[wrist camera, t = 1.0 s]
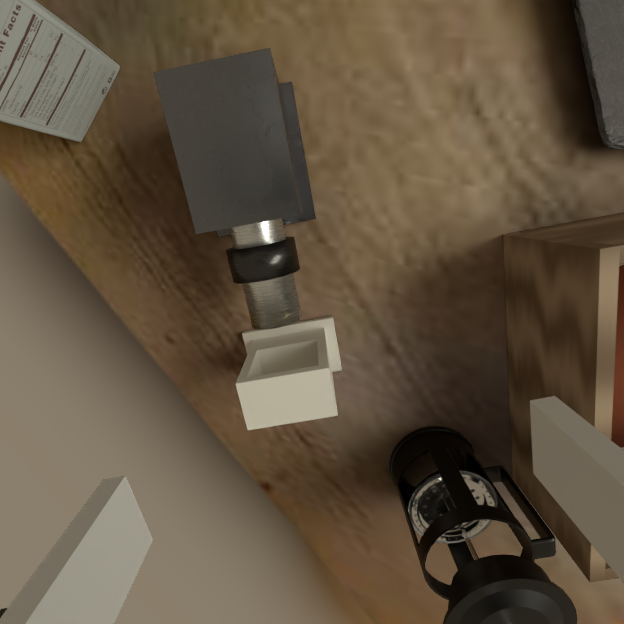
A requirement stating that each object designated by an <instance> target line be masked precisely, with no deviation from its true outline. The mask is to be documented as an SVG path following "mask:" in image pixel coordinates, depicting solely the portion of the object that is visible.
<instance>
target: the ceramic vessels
mask: <svg viewBox="0 0 624 624" xmlns="http://www.w3.org/2000/svg"><path fill="white" fill-rule="evenodd" d="M611 441H612V442H614V443H615V444H616V445H617V446H619V447H620V448H621V447H624V265H622V266H619V281H618V303H617V325H616V346H615V368H614V390H613V412H612V433H611Z"/></svg>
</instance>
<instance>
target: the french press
mask: <svg viewBox="0 0 624 624" xmlns="http://www.w3.org/2000/svg"><path fill="white" fill-rule="evenodd" d="M447 449H455V450H458V451H461V453H462V455H463V460H464V462H463V469H461V468H457V466H456V464H455V462H454V461H453V459H452V457H451V455H450V453H449V452H448V450H447ZM427 452H429V453H430V455H431V457H432V459H433V461H434V463H435V465H436V467H437V469H438V471H436V472H434V473H432V474H430V475H429V476H427V477H426V478H424V479H423V480H422V481H421V482H420V483H419V484H418V485H417V486H416V488H415V487H413V486H411V485H410V484H409V483H408V482H407V481H406V480H405V478H404V476H403V473H404V471H405V469H406V468H407V467H408V465H409V464H410V463H411V462H412V461H413V460H415V459H416V458H418V457H419V456H421V455H423V454H425V453H427ZM389 466H390V474H391V477H392V480H393V482H394V484H395V485H396V487H397V490H398V493H399V496H400V500H401V503H402V506H403V509H404V512H405V516H406V519H407V522H408V525H409V529H410V532H411V535H412V538H413V542H414V545H415V548H416V551H417V554H418V558H419V561H420V564H421V567H422V571H423V574H424V577H425V580H426V582H427V583H428V585H429V587H430V588H431V589H432V590H433V591H434V592H435V593H436V594H438V595H440V596H441V597H443V598H445V599H447V600H449V604H448V611H447V613H446V615H445V618H444V621H443V624H577V614H576V609H575V607H574V605H573V603H572V601H571V599H570V598H569V596H568V595H567V594H566V593H565V592H564V590H563V589H561V588H560V587H559V586H557V585H556V584H554V583H553V582H551V581H550V579H549V578H548V576H547V574H546V573H545V572H544V571H543V570H542V568H541V567H539V566H538V565H537V564H535V563H534V560H535V559H538V558H545V557H551V556H554V555H555V554H556V550H555V537H554V535H553V534H552V532H551V531H550V529H549V528H548V527H547V525H546V524H545V523H544V521H543V520H542V519H541V517H540V516H539V515H538V513H537V512H536V511H535V509H534V508H533V506H532V505H531V504H530V502H529V501H528V500H527V498H526V497H525V496H524V494H523V493H522V492H521V490H520V489H519V488H518V486H517V485H516V483H515V482H514V481H513V479H512V478H511V477H510V475H509V474H508V473H507V471H506V470H505V469H504V467H503V466H500V465H499V466H492V467H486V468H483V467H482V465H481V463H480V462H479V460H478V459H477V457H476V456H475V454H474V450H473V448H472V446H471V444H470V443H469V442H468V441H467V439H466V438H465V437H464V436H462V435H461V434H460V433H458V432H456V431H454V430H452V429H449V428H445V427H426V428H422V429H418V430H416V431H414V432H412V433H410V434H409V435H407V436H406V437H404V438H403V439H402V440H401V441H400V442H399V443H398V444H397V446H396V447H395V449H394V450H393V453H392V455H391V458H390V464H389ZM493 482H502V483H503V484H504V486H505V487H506V488H507V490H508V491H509V493H510V494H511V496H512V497H513V498H514V500H515V501H516V503H517V504H518V506H519V507H520V509H521V510H522V511H523V513H524V514H525V516H526V517H527V519H528V520H529V521H530V523H531V524H532V526H533V527H534V529H535V530H536V532H537V533H538V534H539V536H540V537H541V538H540V539H533V540H531V539H530V537H529V536H528V534H527V533H526V531H525V530H524V528H523V527H522V525H521V524H520V523H519V521H518V520H517V519H516V518H515V517H514V515H513V514H512V512H511V511H510V509H509V508H508V506H507V504H506V503H505V501H504V500H503V498H502V497H501V495H500V494H499V492H498V491H497V489H496V488H495V486H494V485H493ZM497 507H498V508H497ZM492 520H497V521H501V522H505V523H508V525H509V526H510V528H511V529H512V531H513V533H514V534H515V536H516V537H517V539H518V541H519V542H520V544H521V546H522V547H523V550H522V553H521V556H520V557H519V556H514V555H492V556H487V557H483V558H478V555H477V553H476V551H475V549H474V547H473V545H472V543H471V541H470V539H471V538H473V537H475V536H476V535H478V534H480V533H481V532H482V531H483V530H485V529H486V528H487V527H488V525H489V524H490V523H491V522H492ZM414 529H415V530H416V531H417V532H418V533H419V534H420V535H422V538H421V540H420V543H418V540H417V537H416V534H415V531H414ZM434 542H439V543H447V544H448V547H449V549H450V551H451V554H452V556H453V559H454V561H455V564H456V566H457V569H458V571H457V573H456V574H455V575H454V577H453V580H452V584H451V585H447V584H445V583H442V582H440V581H438V580H437V579H435V578H434V577H432V576H431V575H430V574H429V573H428V572H427V570H426V569H425V561H426V557H427V554H428V552H429V550H430V548H431V546H432V545H433V544H434ZM466 542H467V544H468V546H469V548H468V546H467V544H466ZM469 549H470V550H469ZM470 551H471V552H470ZM471 553H472V554H471ZM472 555H473V557H474V559H475V560H474V559H473V557H472Z"/></svg>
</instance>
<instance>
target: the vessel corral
mask: <svg viewBox="0 0 624 624" xmlns="http://www.w3.org/2000/svg"><path fill="white" fill-rule="evenodd" d="M503 249H504V274H505V300H506V325H507V350H508V375H509V400H510V425H511V450H512V475H513V480H514V481H515V482H516V484H517V485H518V486H519V488H520V489H521V490H522V492H523V493H524V494H525V496H526V497H527V498H528V500H529V501H530V502H531V504H532V505H533V506H534V508H535V509H536V511H537V512H538V513H539V515H540V516H541V517H542V519H543V520H544V521H545V523H546V524H547V525H548V527H549V528H550V529H551V531H552V532H553V533H554V535H555V536H556V537H557V539H558V540H559V541H560V543H561V544H562V545H563V547H564V548H565V549H566V551H567V552H568V554H569V555H570V556H571V558H572V559H573V560H574V562H575V563H576V564H577V566H578V567H579V568H580V570H581V571H582V572H583V574H584V575H585V576H586V578H587V579H588V580H589V582H594V581H601V580H609V579H616V578H619V577H618V576H617V575H616V573H615V572H614V571H613V570H612V568H611V567H610V566H609V565H608V564H607V562H606V561H605V560H604V559H603V558H602V556H601V555H600V554H599V553H598V551H597V550H596V549H595V548H594V547H593V545H592V544H591V543H590V542H589V540H588V539H587V538H586V537H585V536H584V534H583V533H582V532H581V531H580V530H579V528H578V527H577V526H576V525H575V523H574V522H573V521H572V520H571V519H570V517H569V516H568V515H567V514H566V512H565V511H564V510H563V509H562V508H561V506H560V505H559V504H558V503H557V502H556V500H555V499H554V498H553V497H552V495H551V494H550V493H549V492H548V491H547V489H546V488H545V487H544V486H543V484H542V483H541V482H540V481H539V480H538V478H537V477H536V476H535V475H534V474H533V455H532V435H531V415H530V400H535V399H541V398H546V397H552V396H556V397H557V398H558V399H559V400H561V401H562V402H563V403H565V404H566V405H567V406H568V407H570V408H571V409H572V410H573V411H575V412H576V413H577V414H578V415H580V416H581V417H582V418H583V419H585V420H586V421H587V422H588V423H590V424H591V425H592V426H593V427H595V428H596V429H597V430H599V431H600V432H601V433H602V434H604V435H605V436H606V437H607V438H609V439H610V440H611V433H612V412H613V390H614V368H615V346H616V325H617V303H618V281H619V265H621V264H624V213H618V214H613V215H607V216H602V217H596V218H591V219H585V220H580V221H574V222H569V223H563V224H558V225H552V226H547V227H541V228H536V229H530V230H525V231H519V232H514V233H508V234H503Z"/></svg>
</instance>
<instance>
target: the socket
mask: <svg viewBox="0 0 624 624" xmlns="http://www.w3.org/2000/svg"><path fill="white" fill-rule="evenodd" d="M242 336H243V340H244V344H245V348H246V352H247V357H246V360H245V362H244V364H243V367H242V369H241V372H240V374H239V376H238V379H237V381H236V388H237V391H238V395H239V399H240V403H241V407H242V410H243V414H244V418H245V422H246V426H247V429H248V430H253V429H259V428H265V427H271V426H277V425H283V424H289V423H295V422H302V421H308V420H314V419H320V418H326V417H332V416H338V413H337V406H336V398H335V391H334V383H333V376H332V372H334V371H340V370H342V367H341V361H340V355H339V350H338V344H337V338H336V332H335V327H334V321H333V316H329V317H324V318H318V319H312V320H307V321H301V322H295V323H292V324H290V325H287V326H284V327H280V328H275V329H268V330H258V329H256V330H250V331H244V332H243V333H242Z"/></svg>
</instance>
